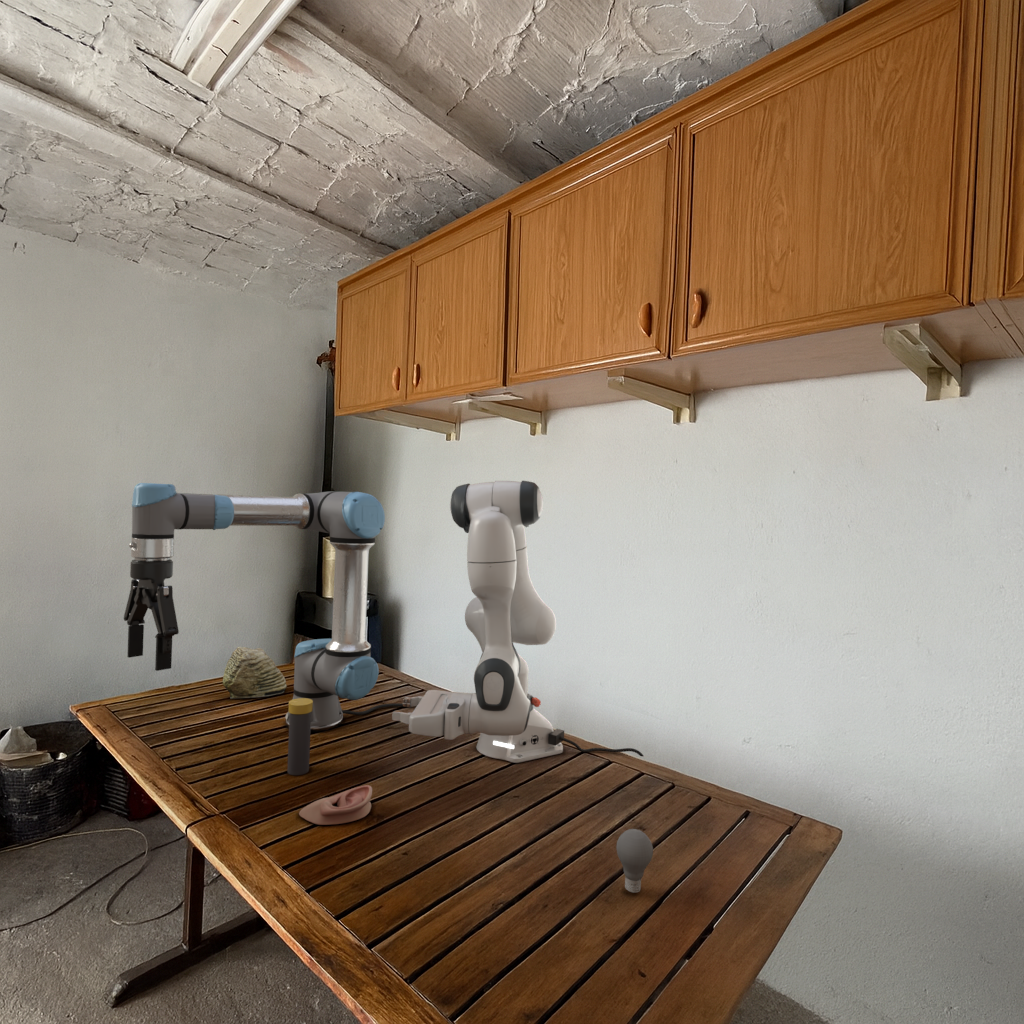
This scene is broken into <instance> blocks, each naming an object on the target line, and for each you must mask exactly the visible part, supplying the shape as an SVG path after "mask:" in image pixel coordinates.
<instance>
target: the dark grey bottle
mask: <svg viewBox="0 0 1024 1024" xmlns="http://www.w3.org/2000/svg"><path fill="white" fill-rule="evenodd" d="M310 731H311V712H309V713H306V714H291V713H290V716H289V728H288V745H287V746H288V747H287V771H286V772H287V774H288V775H290V776H302V775H305V774H307V773H308V772H309V771H310V757H311V755H310V754H311V732H310Z"/></svg>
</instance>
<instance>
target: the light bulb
mask: <svg viewBox="0 0 1024 1024" xmlns="http://www.w3.org/2000/svg"><path fill="white" fill-rule="evenodd" d="M615 849H616V854H617V857H618V859H619V861H620V863H621V865H622V867H623V873H624V874H623V875H624V876H625V878H624V888H625V890H627V891H628V892H630V893H634V894H635V893H639V892H640V891H641V889H642V887H641V886H642V879H643V877H644V875H645V871H646V868H647V867H648V866H649V864H650V863H651V861H652V859H653V855H654V847H653V843H652V841H651V838H649V836H648V835H647V834H646V833H645V832H643V831H642V830H641V829H636V828H629V829H627V830H625V831H623V832H622V833H621V834H620V835H619V837H618V839H617V841H616V847H615Z"/></svg>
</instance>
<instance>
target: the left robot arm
mask: <svg viewBox="0 0 1024 1024" xmlns="http://www.w3.org/2000/svg"><path fill="white" fill-rule="evenodd" d="M385 515H386V513H385V511H384V508H383V505H382V503H381V502H380V501H379V500H378V498H377V497H375V495H373V494H370V493H367V492H363V491H362V492H361V491H337V490H336V491H335V490H333V491H332V490H330V491H321V492H311V493H295V494H294V495H293V496H276V495H275V496H274V495H273V496H272V495H248V494H247V495H246V494H244V495H243V494H220V493H219V494H218V493H217V494H216V493H215V494H214V493H189V492H187V493H186V492H177V491H176V486H175V485H174V484H173V483H152V482H139V483H137V484H136V485H135V486H134V488H133V492H132V501H131V520H132V521H131V542H130V543H128V547H129V548H130V549H131V550H130V556H131V558H133V559H132V560H131V561H130V567H129V568H130V571H129V574H130V575H129V576H130V578H131V581H130V590H129V594H128V598H127V603H126V607H125V610H124V615H123V621H124V622H126V624H127V626H128V629H127V630H128V631H127V658H135V657H142V656H144V635H145V634H144V630H145V625H144V624H145V623H146V621H145V619H144V618H145V616H146V615H147V612H148V609H149V610H151V613H152V618H153V620H154V624H155V627H156V631H157V633H156V635H155V636H154V638H155V661H154V663H155V665H154V668H155V669H154V670H155V671H157V672H159V671H164V670H169V669H172V659H173V657H172V655H173V637H175V636H176V635H179V632H180V631H179V625H178V619H177V615H176V614H177V613H176V609H175V603H174V597H173V595H174V593H173V585H165V580H167V579H171V578H172V577H173V575H174V573H173V572H174V561H173V560H172V559H171V558H173V557H174V554H175V553H174V552H175V530H213V531H215V530H224V529H228V528H230V526H233V527H234V526H237V527H238V526H240V527H243V526H246V527H247V526H249V527H250V526H258V527H259V526H268V527H269V526H276V527H277V526H282V527H284V526H285V527H286V526H287V527H288V526H289V527H290V526H291V527H293V528H294V529H296V530H308V531H309V530H310V531H316V532H319V533H325V534H329V544H330V545H331V546H332V547H333V548H334V550H335V551H334V572H333V573H334V577H333V599H332V625H331V626H332V627H331V638H317V639H308V640H304V641H300V642H299V643H297V645H296V646H295V650H294V655H293V657H294V672H293V673H294V674H293V695H292V696H293V697H292V699H291V700H293V699H298V698H308V699H311V700H313V710H312V711H311V731H310V733H316V732H325V731H329V730H332V729H335V728H337V727H339V726H340V725H342V723H343V722H344V715H352V716H364V715H367V714H369V713H371V712H374V711H376V710H379V709H383V708H384V709H385V708H398V707H401V708H405V707H404V706H403V702H401V703H395V702H394V703H382V704H377V705H374V706H373V707H371V708H369V709H367V710H366V709H365V710H363V711H354V710H345V709H342V706H341V702H340V699H339V698H341V699H342V700H343V699H344V700H348V701H349V700H350V701H357V700H360V699H362V698H364V697H365V696H367V695H368V694H370V692H371V690H372V689H374V687H375V685H376V683H377V682H378V678H379V674H380V672H379V671H380V670H379V669H380V668H379V665H378V663H377V662H376V660H375V659H374V657H371V652H372V649H371V648H372V644H371V643H370V642H368V640H367V639H366V631H367V607H368V606H367V605H368V604H367V602H368V582H369V581H368V579H369V555H370V553H369V552H370V550H371V548H372V547H374V545H375V544H376V536H378V535H379V534H380V533H381V530H383V528H384V526H385V522H386V521H385V520H386V516H385ZM411 707H413V708H416V707H417V706H410V707H409V708H411ZM289 716H290V713H289V711H287V712H286V714H285V716H284V718H285V726H286V728H287V729H289Z"/></svg>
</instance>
